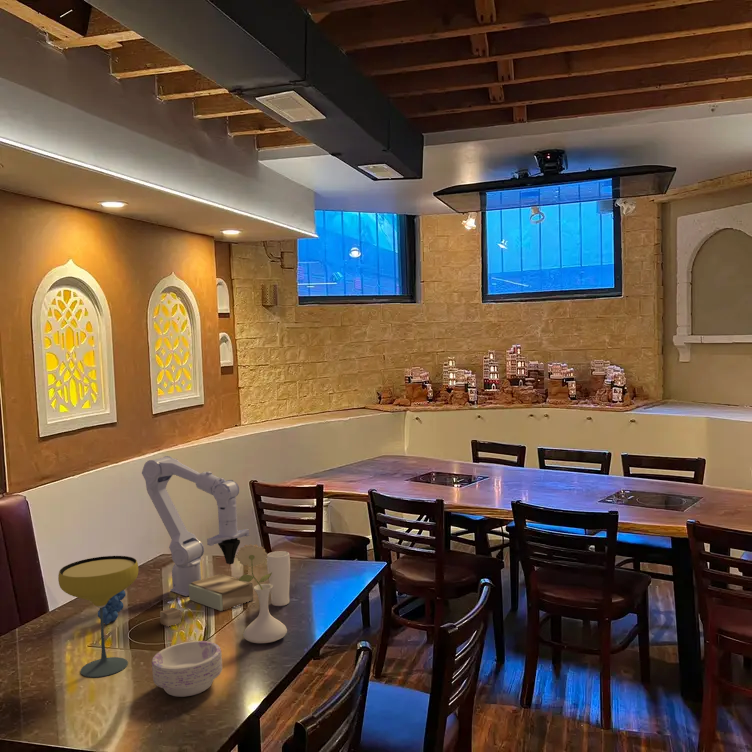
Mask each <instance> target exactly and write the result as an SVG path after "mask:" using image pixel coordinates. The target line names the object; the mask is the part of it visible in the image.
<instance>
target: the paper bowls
mask: <svg viewBox="0 0 752 752" xmlns="http://www.w3.org/2000/svg"><path fill="white" fill-rule="evenodd" d="M222 655H223V654H222V650H221V647H220V645H218V643H215V642H212V641H206V640H194V641H193V640H192V641H185V642H181V643H175V644H173V645H170V646H168V647H165V648H163V649H162V650H160V651H158V652H156V653H155V655H154V656H153V657H152V660H151V666H152V667H151V669H152V671H151V672H152V679H153V683H154V685H156V686H157V687H159V688H161V689H163V691H165V693H167V694H168V695H170V696H173V697H180V698H183V697H190V696H197V695H199V694H201V693H202V692H205V691H206V690H208V689H209V688H210V687H211V686H212V684H213V682H214V680H215V679H216V678H218V676H219V675H221V673H222V671H223V659H222Z"/></svg>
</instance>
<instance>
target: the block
mask: <svg viewBox="0 0 752 752" xmlns="http://www.w3.org/2000/svg"><path fill="white" fill-rule="evenodd" d="M159 615H160V616H159V617H160V624H161V625H162V624H163V625H162V626H165V625H166V626H165V627H167V626H168V627H167V628H170V627H172V626H171V625H173V626H175V624H176V625H178V623H179V624H181V623H182V619H181V618H182V616H181V610H180V609H178V608H175V607H170V608H167V609H164V610H161V611H160V612H159ZM180 622H181V623H180ZM169 626H170V627H169Z"/></svg>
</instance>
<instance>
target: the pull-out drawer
mask: <svg viewBox="0 0 752 752" xmlns="http://www.w3.org/2000/svg"><path fill="white" fill-rule="evenodd" d="M188 598H189V599H190V601H192V602H195V603H198V604H200V605H202V606H206V607H209V608H212V609H215V610H218V611H219V612H222V611H223V604H222V594H219V593H216V592H213V591H210V590H207V589H204V588H201V587H198V586H195V585H192V584H190V585H189V596H188Z"/></svg>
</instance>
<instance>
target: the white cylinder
mask: <svg viewBox="0 0 752 752" xmlns="http://www.w3.org/2000/svg"><path fill="white" fill-rule="evenodd" d="M267 556H268V557H267V558H266V569H267V574H270V573H271V572H272V574H271V576H270V577H269V578H268V584H271V585H272V586H273V587H272V589H271V590H270V601H271V605H272V606H274V607H284V606H286V605H288V604H289V603H290V581H291V577H290V576H291V558H290V552H288V551H285V550H280V551H279V550H276V551H272V552H269V553H267Z"/></svg>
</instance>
